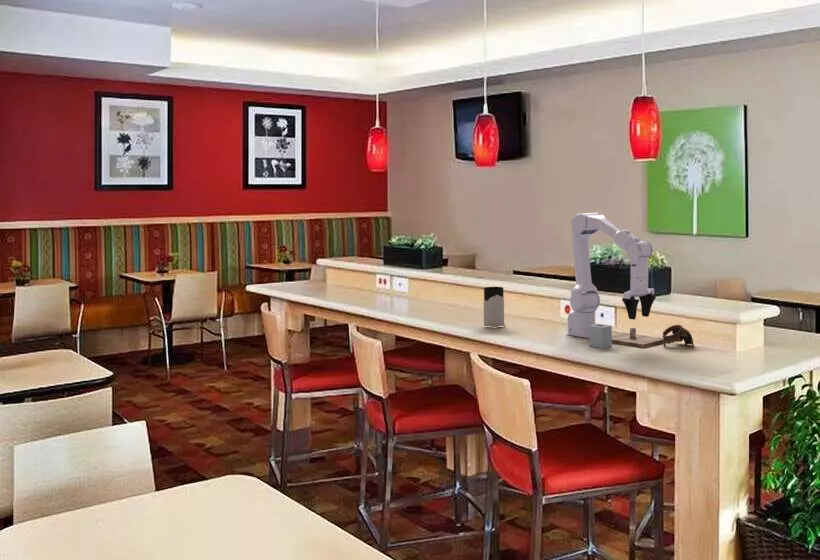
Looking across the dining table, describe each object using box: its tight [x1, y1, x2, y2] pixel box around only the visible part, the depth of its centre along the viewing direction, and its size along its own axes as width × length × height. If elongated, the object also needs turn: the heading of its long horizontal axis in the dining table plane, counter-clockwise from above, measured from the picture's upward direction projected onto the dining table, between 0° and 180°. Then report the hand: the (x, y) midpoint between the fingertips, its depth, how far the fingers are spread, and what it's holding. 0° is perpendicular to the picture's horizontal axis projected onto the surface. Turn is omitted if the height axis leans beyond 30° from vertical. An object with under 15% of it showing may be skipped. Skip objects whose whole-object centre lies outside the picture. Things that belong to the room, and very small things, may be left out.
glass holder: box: [483, 286, 506, 327], centre depth 336 cm, size 9×14×15 cm, turn 14°
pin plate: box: [612, 327, 663, 349], centre depth 297 cm, size 18×14×5 cm
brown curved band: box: [662, 324, 695, 348], centre depth 289 cm, size 12×10×8 cm
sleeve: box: [588, 323, 613, 349], centre depth 290 cm, size 5×5×7 cm
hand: (638, 317), depth 289 cm, fingers open, 7 cm apart
